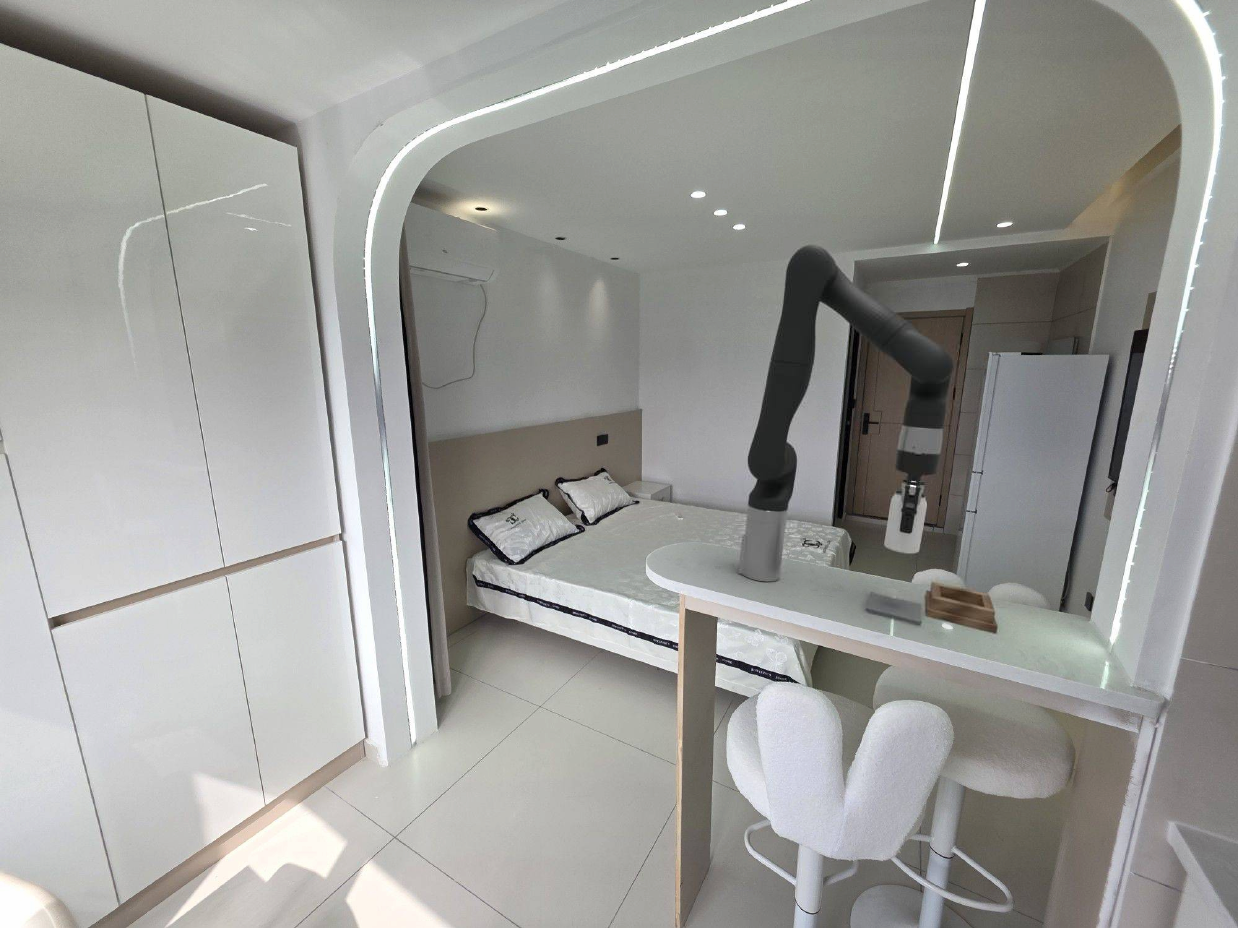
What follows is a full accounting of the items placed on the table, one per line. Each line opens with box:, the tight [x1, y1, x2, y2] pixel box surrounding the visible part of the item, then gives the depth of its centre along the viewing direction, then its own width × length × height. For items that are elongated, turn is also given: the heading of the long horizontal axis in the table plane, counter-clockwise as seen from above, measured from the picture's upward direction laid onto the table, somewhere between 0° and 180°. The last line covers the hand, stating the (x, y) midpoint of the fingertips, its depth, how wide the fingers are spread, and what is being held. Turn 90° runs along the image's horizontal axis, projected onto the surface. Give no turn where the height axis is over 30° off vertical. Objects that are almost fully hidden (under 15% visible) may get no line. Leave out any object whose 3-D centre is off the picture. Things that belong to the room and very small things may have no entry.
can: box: [883, 490, 928, 555], centre depth 103 cm, size 6×6×12 cm
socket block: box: [924, 581, 998, 634], centre depth 106 cm, size 12×12×4 cm
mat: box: [865, 591, 922, 627], centre depth 106 cm, size 10×10×1 cm
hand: (905, 528), depth 103 cm, fingers closed on can, 6 cm apart
